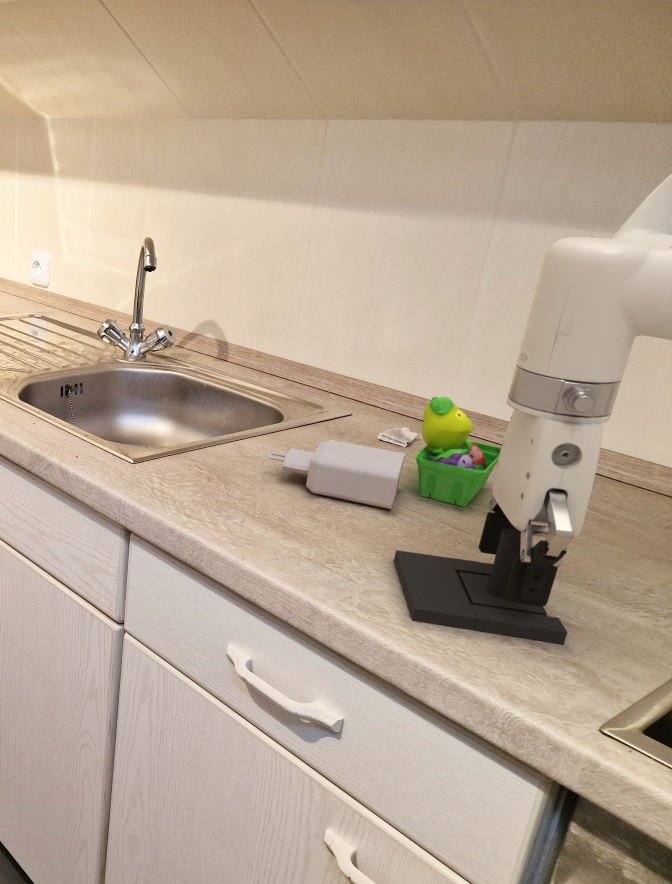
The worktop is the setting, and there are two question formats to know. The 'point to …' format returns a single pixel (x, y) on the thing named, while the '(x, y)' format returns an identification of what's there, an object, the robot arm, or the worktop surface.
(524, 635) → the black flat u-shaped plate
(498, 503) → the robot arm
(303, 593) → the worktop surface
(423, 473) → the fruit basket
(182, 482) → the worktop surface
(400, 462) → the charger
